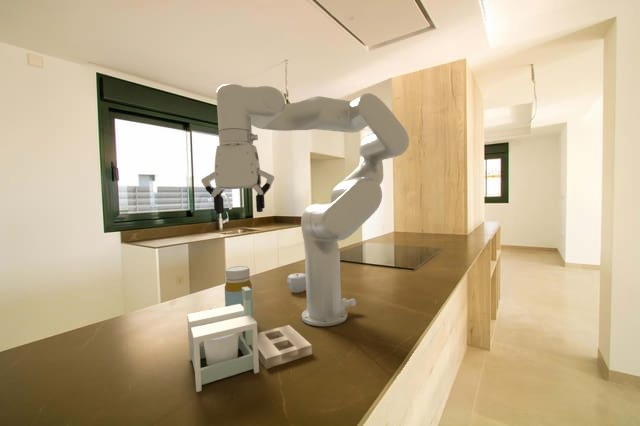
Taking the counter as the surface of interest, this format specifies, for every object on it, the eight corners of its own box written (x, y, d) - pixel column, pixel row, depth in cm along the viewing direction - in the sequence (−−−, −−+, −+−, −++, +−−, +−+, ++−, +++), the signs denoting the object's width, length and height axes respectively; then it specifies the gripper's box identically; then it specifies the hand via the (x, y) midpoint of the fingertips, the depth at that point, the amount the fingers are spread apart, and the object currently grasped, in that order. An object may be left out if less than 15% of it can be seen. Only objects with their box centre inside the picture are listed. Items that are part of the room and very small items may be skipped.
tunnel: (242, 345, 66) (240, 303, 66) (259, 372, 55) (256, 322, 55) (189, 359, 61) (187, 314, 61) (196, 392, 50) (193, 337, 50)
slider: (245, 345, 65) (243, 282, 65) (259, 366, 57) (256, 294, 56) (192, 359, 60) (188, 291, 60) (198, 386, 51) (194, 306, 51)
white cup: (229, 377, 54) (227, 340, 54) (196, 374, 55) (194, 337, 55) (246, 357, 61) (244, 324, 60) (216, 355, 62) (214, 323, 62)
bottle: (258, 320, 80) (255, 266, 80) (243, 331, 74) (241, 272, 73) (236, 317, 83) (234, 265, 82) (220, 328, 76) (218, 271, 75)
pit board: (289, 333, 72) (289, 324, 72) (312, 354, 61) (311, 344, 61) (249, 343, 67) (248, 335, 67) (266, 368, 56) (265, 358, 56)
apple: (313, 290, 106) (312, 272, 106) (300, 296, 100) (299, 277, 99) (295, 287, 111) (295, 270, 110) (282, 293, 104) (281, 275, 104)
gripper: (275, 141, 72) (278, 210, 73) (206, 145, 73) (211, 213, 74) (268, 135, 65) (272, 211, 65) (192, 139, 66) (197, 215, 66)
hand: (239, 212), depth 70 cm, fingers open, 9 cm apart
